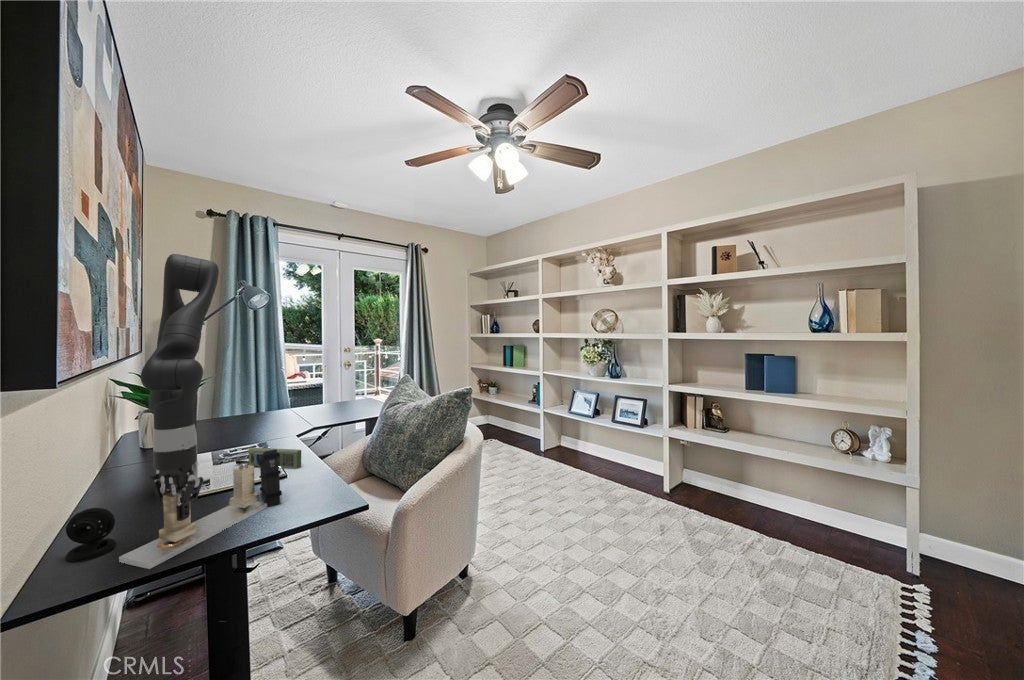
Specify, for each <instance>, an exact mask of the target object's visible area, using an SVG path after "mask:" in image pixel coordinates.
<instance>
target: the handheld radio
mask: <svg viewBox="0 0 1024 680" xmlns="http://www.w3.org/2000/svg"><path fill="white" fill-rule="evenodd" d="M246 449H247V454H248V455H247V456H246V458H247V459H248V460H239V459H238V460H237V459H236V461H235V465H239V464H242V463H248V465H251V466H258V467H257V468H260V465H258V462H259V461H260V460H259V458H260V457H261V456H262V454H263V453H264V452H265V451H270V450H275V449H277V453H279V456H278V466H281V467H282V468H281V469H289V470H291V469H293V470H298V469H300V468H302V449H296V448H295V449H293V448H290V449H289V448H269V447H268V448H265V447H248V448H246Z"/></svg>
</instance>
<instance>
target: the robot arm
mask: <svg viewBox="0 0 1024 680" xmlns="http://www.w3.org/2000/svg"><path fill="white" fill-rule="evenodd" d="M163 273H164V274H163V291H162V292H163V293H162V296H163V297H162V309H161V316H160V323H159V327H158V334H157V340H156V341H157V342H156V343H157V344H156V348H155V350H154V351H153V353H152V354H151V355H150V357H149V359H148V360H147V361H146V362H145V364H144V366H143V367H142V370H141V372H140V381H141V384H142V386H143V387H144V388H145V389H146V390H148V391H149V395H148V409H149V412H150V413H151V414H152V415H153V436H152V454H153V455H152V458H153V469H154V470H156V471H155V474H154V473H153V474H152V475H149V481H150V483H151V486H152V488H153V491H154V494H155V498H156V500H158V501H159V500H161V502H162V503H163V496H164V495H167V494H169V493H171V489H172V494H173V496H176V502H177V521H182V520H184V519H187V518H188V517H189V515H190V512H191V505H190V506H189V503H190V504H191V502H193V501H195V500H197V499H198V497H199V494H200V490H201V488H202V486H203V481H204V477H202V476H199V477H198V475H199V470H198V438H197V437H198V436H197V435H198V433H197V432H198V431H197V427H198V425H197V424H198V423H197V422H198V418H197V416H198V413H197V412H198V391H199V388H200V385H201V383H202V380H203V376H204V368H203V366H202V363H200V362H199V361H198V360H196V359H194V358H195V357H197V354H198V353H199V350H200V345H201V341H202V329H203V325H204V323H205V319H206V316H207V313H208V311H209V309H210V306H211V304H212V301H213V298H214V295H215V292H216V289H217V285H218V282H219V275H220V274H219V273H220V271H219V265H218V264H217V263H216V262H214V261H211V260H208V259H203V258H198V257H194V256H189V255H183V254H178V253H172V254H170V255H169V256H167V258H166V261H165V263H164V271H163ZM180 290H182V291H187V292H193V293H194V292H195V293H198V294H197V295H196V296H195V297H194V298H193V299H192V300H191V301H189V302H188V303H186V304H185V302H184V301H183V299H182V298H183V297H182V294H181V291H180ZM180 489H182V490H180ZM179 490H180V491H179ZM184 493H185V494H184ZM182 494H184V497H183V499H182ZM189 511H190V512H189Z"/></svg>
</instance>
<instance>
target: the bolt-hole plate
mask: <svg viewBox="0 0 1024 680" xmlns="http://www.w3.org/2000/svg"><path fill="white" fill-rule="evenodd" d="M238 465H239V466H238V467H237V468H233V469H232V476H233V477H232V479H233V497H230V498H229V505H227V506H225V507H223V508H220V509H218V510H216V511H214V512H212V513H210V514H208V515H205V516H203V517H201V518H199V519H198V520H195V521H192V523H195V524H196V532H195V533H193V534H191V535H189V536H187V537H185V538H183V539H180V540H178V541H176V542H173V541H168V540H162V539H159V537H158V538H157V539H154V540H152V541H150V542H148V543H146V544H143V545H141V546H140V547H137V548H135V549H133V550H131V551H129V552H126V553H124V554H122V555H120V556H118V562H119V563H120V562H121V564H124V563H125V564H126V565H130V566H133V567H134V566H135V567H138V568H142V569H147V570H151V569H152V568H154V567H156V566H158V565H160V564H163V563H164V562H166V561H168V560H169V559H171V558H173V557H175V556H178V555H179V554H181V553H183V552H184V551H187V550H188V549H191V548H192V547H194V546H197V545H198V544H200V543H202V542H204V541H206V540H208V539H210V538H211V537H213V536H215V535H217V534H219V533H221V532H223V531H225V530H227V529H229V528H231V527H233V526H234V524H235V525H236V523H237V524H238V523H240V522H242V521H245V520H246V519H248V518H250V517H252V516H253V515H256V514H257V513H260V512H262V511H263V510H265V509H266V508H268V505H267V503H266V502H263V501H260V495H259V493H255V491H256V490H255V467H254V466H251V465H249V464H248V463H242V464H238ZM232 525H233V526H232ZM226 528H227V529H226ZM224 529H225V530H224ZM222 530H223V531H222Z"/></svg>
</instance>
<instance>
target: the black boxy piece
mask: <svg viewBox="0 0 1024 680" xmlns="http://www.w3.org/2000/svg"><path fill="white" fill-rule="evenodd" d="M274 449H275V450H270V451H265V452H264V453H263V454H262V456H261V457H260V458H259V460H260V461H259V462H258V465H260V467H259V469H260V475H259V476H258V477H259V479H260V484H261V485H260V487H259V490H260V493H261V496H262V498H263V500H264V501H265V502H264V503H267V508H268V507H269V508H270V507H273V506H277V505H280V504H281V496H282V495H283V492H282V490H281V484H280V475H281V473H282V471H281V469H280V468H279V467H278V456H279V453H277V449H278V448H274Z"/></svg>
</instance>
